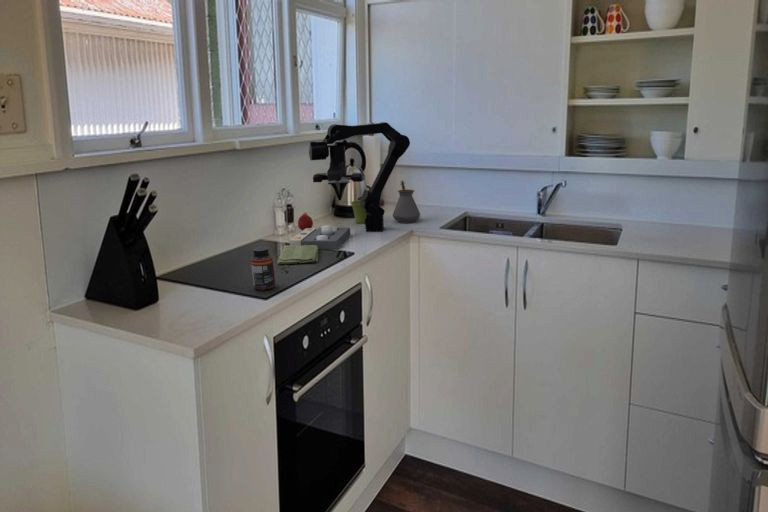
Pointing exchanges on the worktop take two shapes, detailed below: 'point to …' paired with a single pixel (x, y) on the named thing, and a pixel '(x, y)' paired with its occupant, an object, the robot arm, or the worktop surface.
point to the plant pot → (359, 212)
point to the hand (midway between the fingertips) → (340, 200)
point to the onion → (305, 221)
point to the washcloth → (298, 254)
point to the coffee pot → (406, 207)
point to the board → (332, 240)
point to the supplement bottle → (262, 269)
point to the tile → (301, 236)
